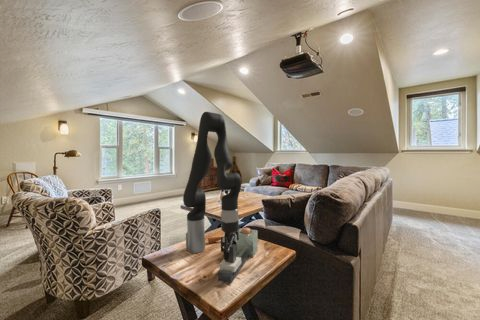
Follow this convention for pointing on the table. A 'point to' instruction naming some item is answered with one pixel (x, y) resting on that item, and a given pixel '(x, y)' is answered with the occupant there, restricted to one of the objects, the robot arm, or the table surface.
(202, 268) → the table surface
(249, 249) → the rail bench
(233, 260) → the carriage
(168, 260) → the table surface
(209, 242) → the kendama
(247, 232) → the button
